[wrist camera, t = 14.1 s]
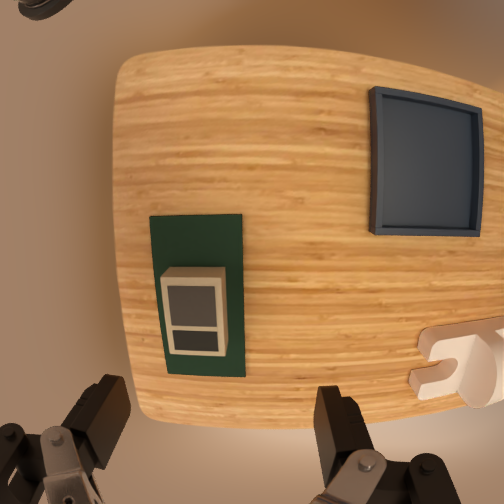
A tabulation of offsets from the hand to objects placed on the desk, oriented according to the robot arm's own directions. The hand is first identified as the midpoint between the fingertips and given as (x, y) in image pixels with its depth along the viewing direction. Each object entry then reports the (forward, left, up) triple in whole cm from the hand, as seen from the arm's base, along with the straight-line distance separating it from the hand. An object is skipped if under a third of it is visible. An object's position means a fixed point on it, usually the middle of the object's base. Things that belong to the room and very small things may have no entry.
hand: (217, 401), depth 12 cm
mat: (+6, -5, -23) cm, 24 cm away
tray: (-10, +21, -23) cm, 33 cm away
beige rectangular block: (+6, -5, -23) cm, 24 cm away
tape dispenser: (+15, +32, -23) cm, 42 cm away
